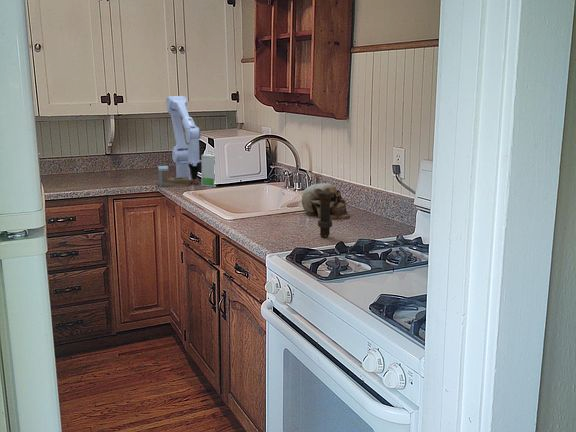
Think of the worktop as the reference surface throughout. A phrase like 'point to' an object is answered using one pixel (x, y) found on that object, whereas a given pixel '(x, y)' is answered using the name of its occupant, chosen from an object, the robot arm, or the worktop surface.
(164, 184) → the socket block
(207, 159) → the skincare box
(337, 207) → the grey skull
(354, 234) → the worktop surface
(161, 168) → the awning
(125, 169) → the worktop surface
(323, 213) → the bolt
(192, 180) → the peg
